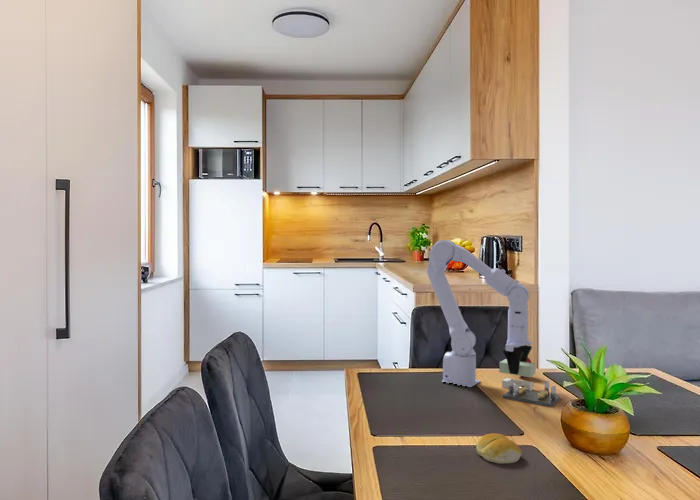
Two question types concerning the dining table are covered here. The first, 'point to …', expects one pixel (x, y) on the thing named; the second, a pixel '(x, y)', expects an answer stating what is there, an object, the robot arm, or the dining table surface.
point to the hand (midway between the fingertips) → (517, 371)
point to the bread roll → (498, 449)
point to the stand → (521, 383)
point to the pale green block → (524, 368)
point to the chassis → (532, 394)
